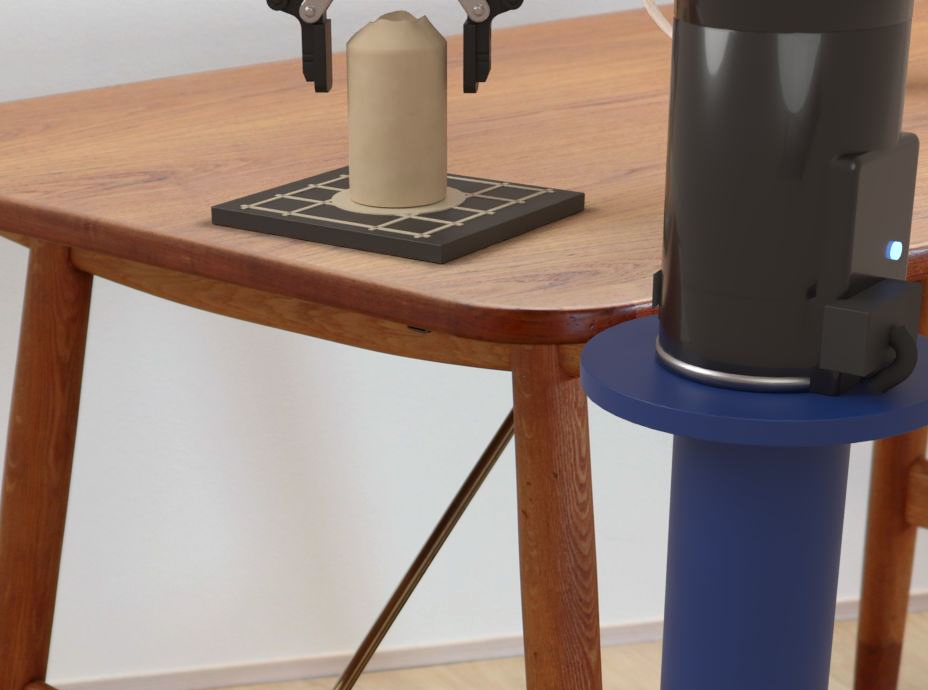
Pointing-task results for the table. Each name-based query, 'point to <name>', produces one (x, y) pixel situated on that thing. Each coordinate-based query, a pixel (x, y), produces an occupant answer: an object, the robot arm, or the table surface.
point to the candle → (397, 112)
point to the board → (400, 215)
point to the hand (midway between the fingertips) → (397, 90)
